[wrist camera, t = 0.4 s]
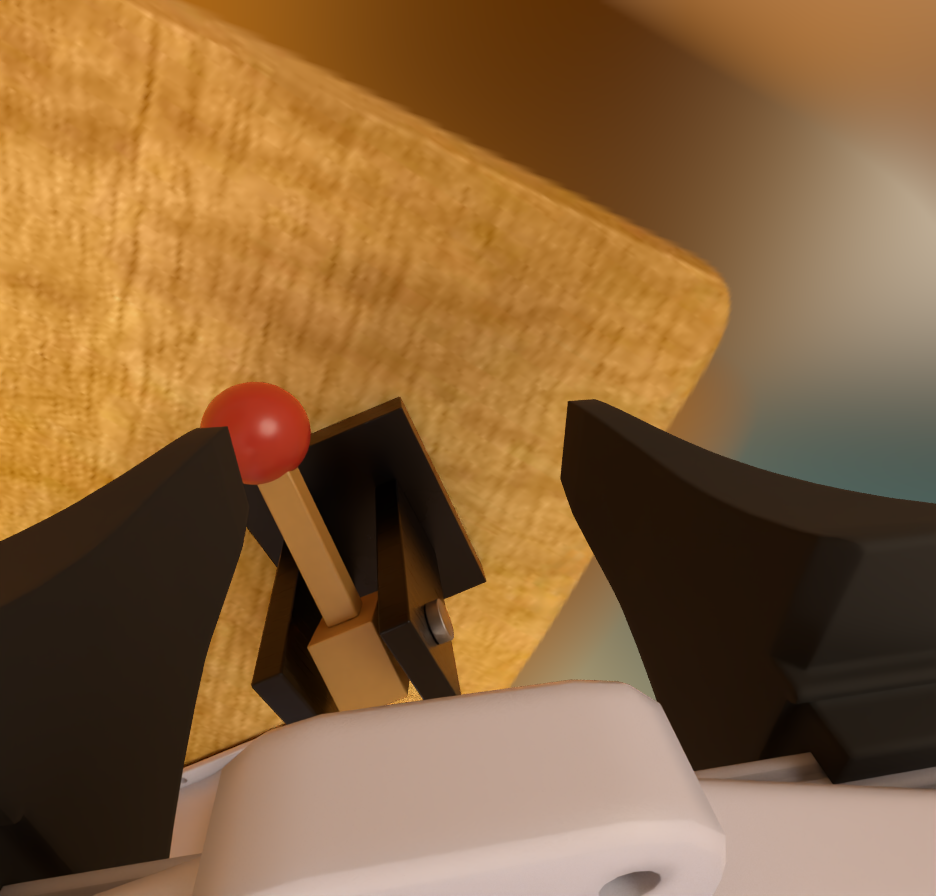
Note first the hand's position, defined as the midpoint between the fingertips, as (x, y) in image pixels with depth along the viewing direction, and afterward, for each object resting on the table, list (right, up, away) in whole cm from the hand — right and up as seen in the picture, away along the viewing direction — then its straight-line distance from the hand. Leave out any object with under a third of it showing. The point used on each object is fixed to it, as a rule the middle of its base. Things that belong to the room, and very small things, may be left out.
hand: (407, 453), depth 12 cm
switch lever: (-4, -3, +7) cm, 9 cm away
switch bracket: (-3, -3, +13) cm, 14 cm away
